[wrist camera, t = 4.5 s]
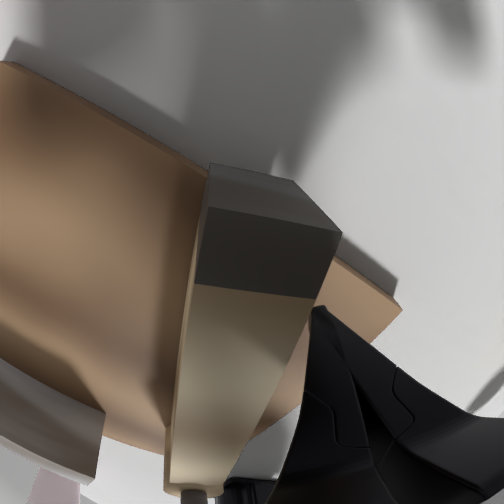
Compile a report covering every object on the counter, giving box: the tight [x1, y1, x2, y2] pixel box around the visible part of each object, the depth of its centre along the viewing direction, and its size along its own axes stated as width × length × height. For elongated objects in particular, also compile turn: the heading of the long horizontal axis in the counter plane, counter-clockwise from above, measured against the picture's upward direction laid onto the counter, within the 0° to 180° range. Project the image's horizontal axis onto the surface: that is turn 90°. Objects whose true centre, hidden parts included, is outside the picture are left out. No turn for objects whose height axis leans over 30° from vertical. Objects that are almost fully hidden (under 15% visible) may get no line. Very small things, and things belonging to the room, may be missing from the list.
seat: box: [0, 61, 403, 504], centre depth 10 cm, size 18×20×6 cm
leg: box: [164, 163, 343, 498], centre depth 11 cm, size 17×3×4 cm, turn 166°
